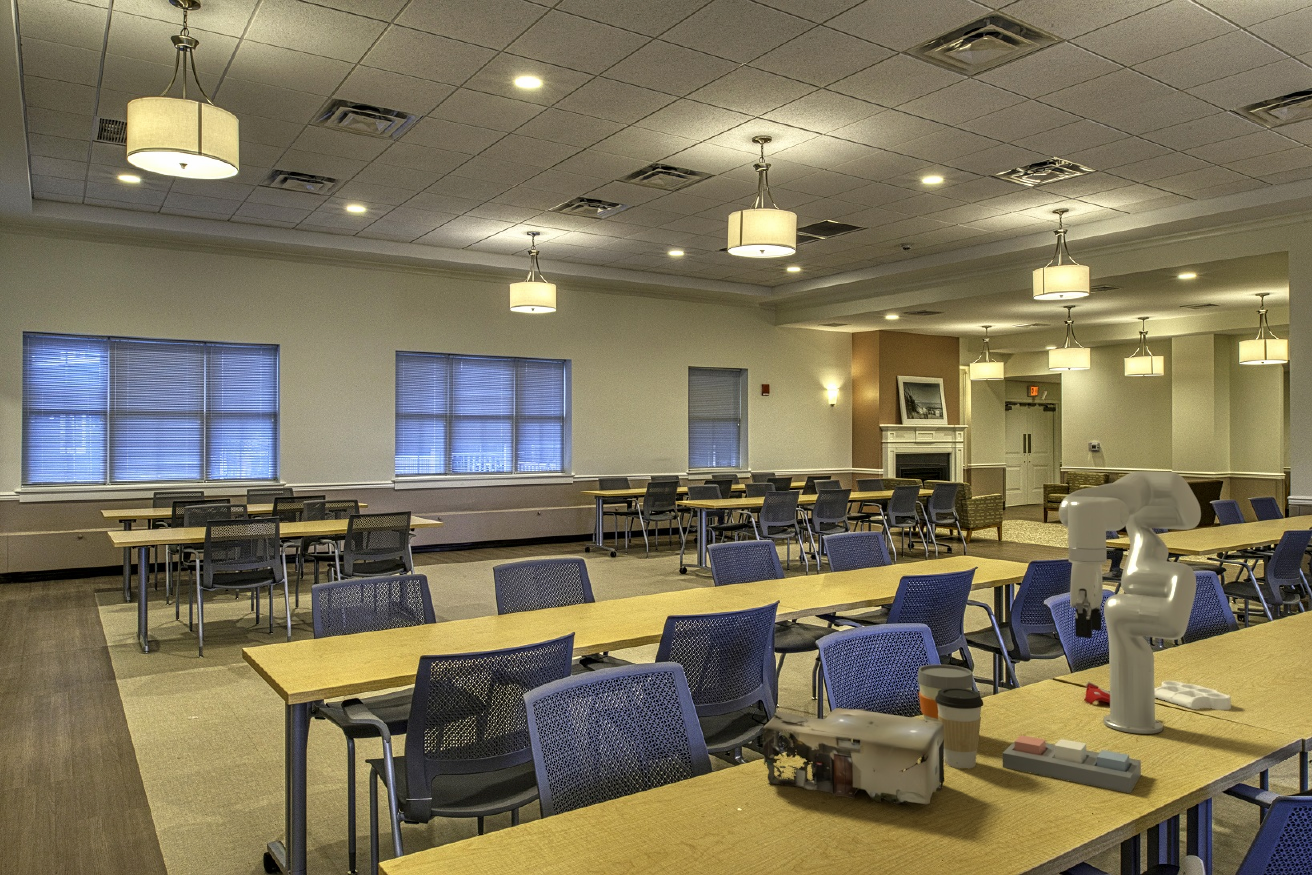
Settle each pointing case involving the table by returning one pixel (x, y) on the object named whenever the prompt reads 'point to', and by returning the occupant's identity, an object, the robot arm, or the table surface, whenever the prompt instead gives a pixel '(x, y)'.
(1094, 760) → the keypad base
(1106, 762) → the slate-blue key
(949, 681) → the reusable coffee cup
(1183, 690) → the white egg tray
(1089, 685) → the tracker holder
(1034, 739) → the brick-red key
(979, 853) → the table surface
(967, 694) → the coffee cup
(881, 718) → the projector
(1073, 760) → the off-white key
